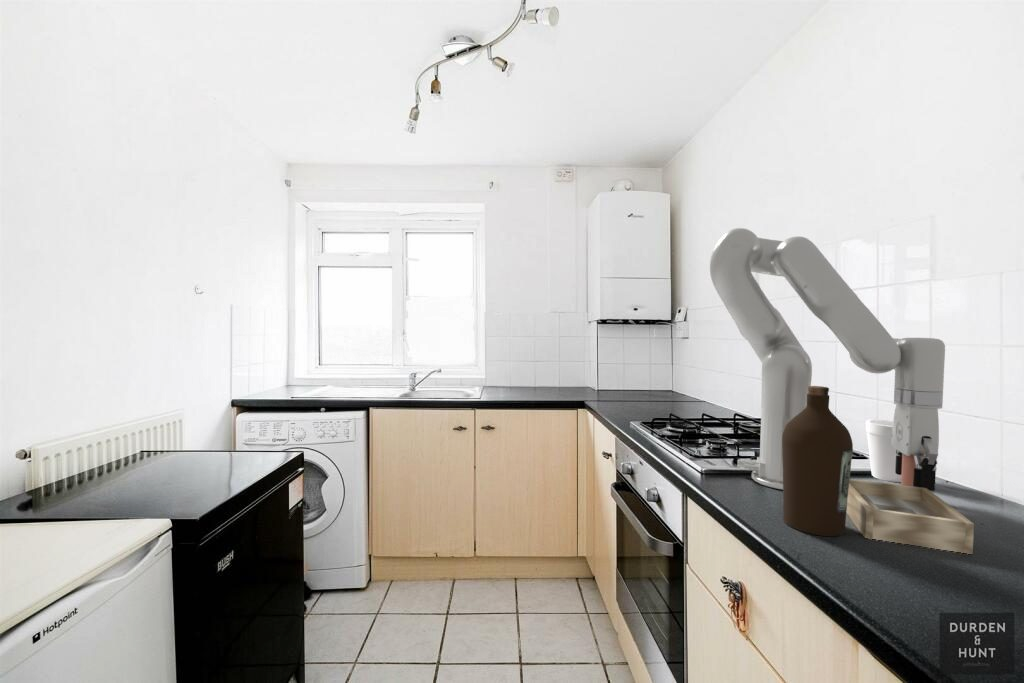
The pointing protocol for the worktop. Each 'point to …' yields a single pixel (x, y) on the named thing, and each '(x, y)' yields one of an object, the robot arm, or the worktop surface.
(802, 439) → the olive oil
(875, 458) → the foam cup
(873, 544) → the worktop surface
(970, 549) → the box
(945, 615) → the worktop surface
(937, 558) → the worktop surface
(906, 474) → the peg
